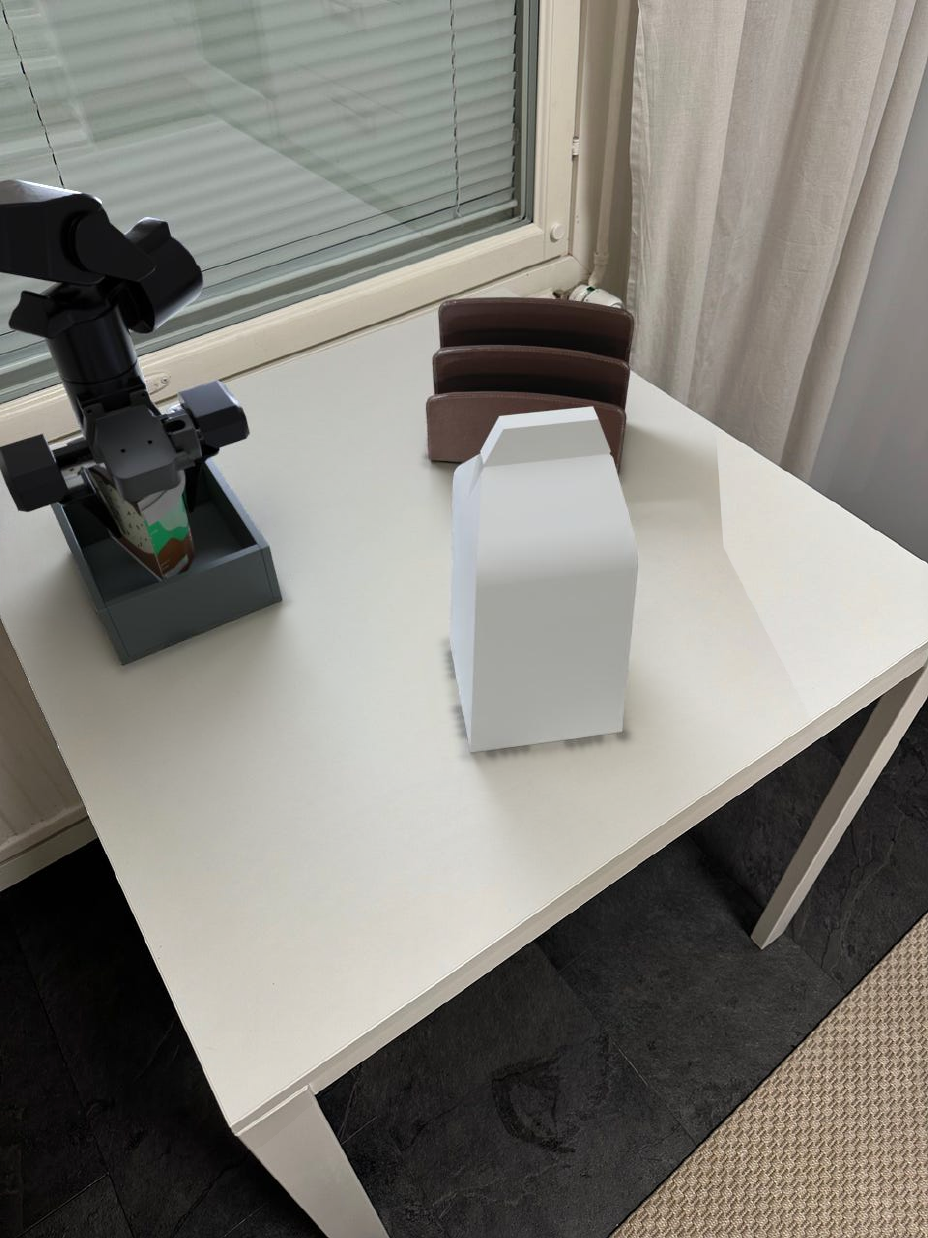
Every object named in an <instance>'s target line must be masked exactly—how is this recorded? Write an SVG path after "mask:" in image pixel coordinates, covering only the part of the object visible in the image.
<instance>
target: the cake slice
mask: <svg viewBox="0 0 928 1238" xmlns="http://www.w3.org/2000/svg"><path fill="white" fill-rule="evenodd" d="M83 440H85V439H84V436H83V435H82V436H80V437H77V438H75V439H73V440H71V441H68V442H66V443H65V444H66V446H67V445H70V444H73V443H76V442H80V441H83ZM86 470H87V472H88V474H89V475H90V477H91V479H92V480H93V482H94V484H95V486H96V487H97V489H98V491H99V492H100V494H101V496H102V497H103V499H104V501H105V503H106V504H107V506H108V508H109V509H110V511H111V513H112V515H113V516H114V518H115V521H116V523H117V525H118V527H119V529H120V532H121V534H122V538H119V539H118V538H117V537H116V536H115V535H114V534H113V533H112V532H111V531H110V530H109V529H108V528H107V529H108V531H109V533H110V536H111V538H112V539H113V540H115V541H116V542H117V543H118V544H119V545H120V546H121V547H122V548H123V549H125V550H126V551H127V552H128V553H129V554H130V555H131V556H132V557H133V558H135V559H136V560H137V561H138V562H139V563H140V564H141V565H142V566H143V567H145V568H146V569H147V570H148V571H149V572H150V573H151V574H152V575H153V576H154V577H156V578H157V579H158V580H159V581H162V580H165V579H168V578H170V577H173V576H175V575H178V574H181V573H183V572H186V571H188V570H189V568H190V566H191V563H192V561H193V559H194V543H193V539H192V535H191V530H190V526H189V522H188V518H187V514H186V510H185V506H184V502H183V498H182V493H183V490H184V486H185V474H184V470H181V476H182V481H181V483H180V484H179V485H178V486H177V487H176V488H173V489H171V490H163V491H160V492H157V493H154V494H152V495H149V496H146V497H144V498H143V499H142V500H139V501H136V502H127V501H124V500H123V499H121V498H120V496H119V495H118V492H117V490H116V488H115V486H114V484H113V481H112V479H111V477H110V475H109V473H108V471H107V469H106V467H105V464H104V463H102V464H98V465H95V466H92V467H89V468H86Z"/></svg>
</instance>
